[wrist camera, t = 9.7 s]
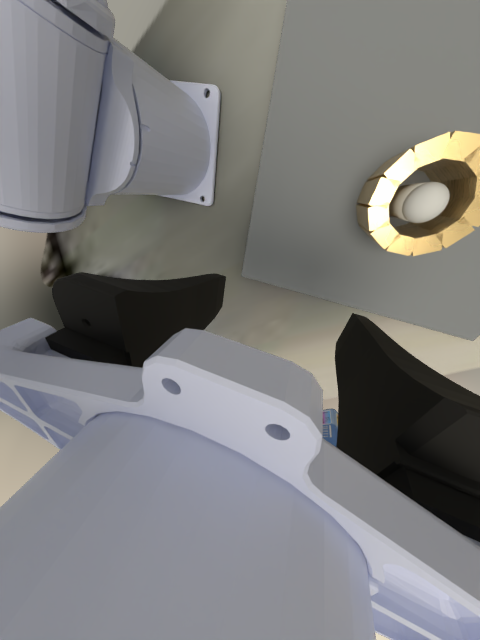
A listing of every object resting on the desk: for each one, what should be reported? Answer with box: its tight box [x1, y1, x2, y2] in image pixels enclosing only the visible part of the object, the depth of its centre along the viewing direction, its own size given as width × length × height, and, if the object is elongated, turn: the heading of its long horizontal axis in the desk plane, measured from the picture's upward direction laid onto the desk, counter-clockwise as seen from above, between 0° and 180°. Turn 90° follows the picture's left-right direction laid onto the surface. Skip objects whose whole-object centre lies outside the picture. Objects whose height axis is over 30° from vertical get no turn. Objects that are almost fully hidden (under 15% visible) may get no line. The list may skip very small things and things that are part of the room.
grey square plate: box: [241, 0, 480, 341], centre depth 13 cm, size 22×18×6 cm
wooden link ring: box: [356, 131, 480, 256], centre depth 13 cm, size 6×6×5 cm
